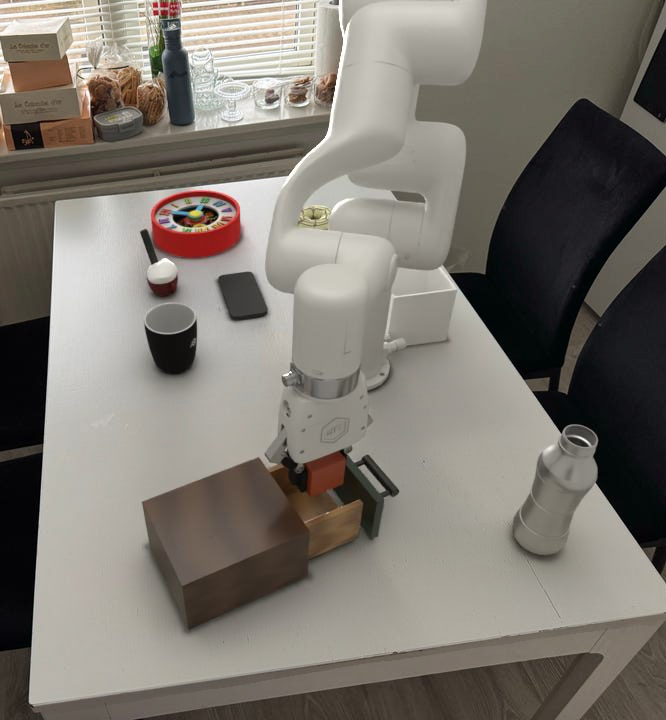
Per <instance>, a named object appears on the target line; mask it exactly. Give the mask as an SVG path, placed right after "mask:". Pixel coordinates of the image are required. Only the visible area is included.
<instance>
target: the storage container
mask: <svg viewBox="0 0 666 720" xmlns="http://www.w3.org/2000/svg"><path fill="white" fill-rule="evenodd" d="M418 245H419V244H418ZM417 251H418V250H417ZM416 257H417V256H416ZM415 263H416V262H415ZM457 293H458V288H457V287H456V286H455V284H454V283H453V282H452V280H451V279H450V278H449V276H448V275H447V274H446V272H445V271H444V269H443V268H442V266H441V267H439V268H437V269H435V270H415V268H414V269H405V268H397V273H396V277H395V280H394V283H393V285H392V291H391V298H390V305H389V312H388V319H387V326H386V332H385V334H389V335H390V341H388V342H387V343H390V342H392V341H394V340H397V339H399V338H403V339H404V340H405V342H406V347H408V346H416V345H422V344H430V343H437V342H444V341H447V337H448V334H449V330H450V324H451V319H452V317H453V312H454V307H455V301H456V298H457Z"/></svg>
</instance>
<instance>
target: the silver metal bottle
mask: <svg viewBox="0 0 666 720" xmlns="http://www.w3.org/2000/svg"><path fill="white" fill-rule="evenodd" d="M598 442H599V438H598V436H597V434H596V433H595V432H594V431H593V430H592V429H590V428H589V427H587V426H584V425H581V424H569V425H567V426H565V427H564V428H563V430H562V433H561V435H560V436H559V438H558V440H557V442H555V443H552V444H550V445H548V446H547V447H545V448H544V449H543V450H542V451H541V452H540V453H539V455H538V457H537V461H536V467H535V473H534V479H533V482H532V485H531V488H530V492H529V494H528V495H527V497H526V499H525V501H524V502H523V504H522V505H520V507H519V508H518V510H517V511H516V513H515V514H514V516H513V519H512V533H513V536H514V538H515V539H516V541H517V542H518V544H519V545H520V546H521V547H522V548H523V549H524V550H526V551H528V552H530V553H532V554H535V555H539V556H550V555H553V554H557V553H558V552H559V551H561V549H562V548H563V547H564V546H565V545H566V544H567V543H568V539H569V536H570V535H569V534H570V528H571V524H572V520H573V517H574V515H575V512H576V510H577V509H578V507H579V505H580V504H581V502H582V501H583V499H584V498H585V496H586V495H587V494H588V493H589V491H591V489H592V488H593V487H594V485H595V484H596V482H597V480H598V470H599V469H598V464H597V463H596V460H595V457H594V455H595V453H596V449H597V446H598V444H599V443H598Z"/></svg>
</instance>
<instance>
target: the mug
mask: <svg viewBox="0 0 666 720" xmlns="http://www.w3.org/2000/svg"><path fill="white" fill-rule="evenodd" d="M197 318H198V317H197V313H196V311H195V310H194V309H193V308H192V307H191V306H189V305H187V304H184V303H180V302H164V303H160V304H158V305H155V306H153V307H152V308H150V309H149V310H148V311H147V312H146V313H145V314H144V318H143V327H144V331H145V338H146V341H147V344H148V348H149V352H150V355H151V358H152V360H153V362H154V364H155V366H156V367H157V368H158V369H159V370H160V371H161V372H163V373H165V374H169V375H179V374H182V373H185V372H186V371H188V370H190V368H191V367H192V366H193V364H194V362H195V358H196V354H197V345H198V319H197Z"/></svg>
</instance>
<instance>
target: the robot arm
mask: <svg viewBox="0 0 666 720" xmlns="http://www.w3.org/2000/svg"><path fill="white" fill-rule="evenodd" d="M487 5H488V0H339V4H338V14H339V23H340V29H341V33H342V38H343V44H342V51H341V56H340V62H339V68H338V73H337V79H336V85H335V89H334V90H335V91H334V95H333V101H332V106H331V112H330V116H329V117H330V118H329V126H328V130H327V133H326V136H325V138H324V139H323V140H322V141H321V142H320V143H319V144H318V145H316V147H314V148H313V149H312V150H311V151H309V152H308V153H307V154H306V155H305V156H304V157H303V158H302V159H301V160H300V161H299V162H298V163H297V164H296V166H295V167H294V169H292V171H291V172H290V173H289V175H288V176H287V178H286V180H285V181H284V182H283V185H282V187H281V188H280V190H279V192H278V195H277V197H276V201H275V204H274V209H273V211H272V212H273V213H272V218H271V219H272V220H271V223H270V230H269V234H268V238H267V239H268V240H267V245H266V251H265V262H264V269H265V271H264V272H265V277H266V279H267V282H268V284H269V285H270V286H271V287H272V288H273V289H275V290H276V291H278V292H281V293H286V294H290V295H293V313H292V340H291V341H292V343H291V361H290V363H289V364H290V365H289V371H288V372H287V373H286V374H283V375H281V382H282V384H283V386H284V387H283V392H282V394H281V399H280V404H279V410H278V417H277V436H276V437H275V439H274V440H272V442H271V444H270V445H269V446H268V447H267V449H266V450H265V452H264V456H265V458H266V459H267V460H268V463H271V464H275V465H277V464H282V465H283V466H284V467H287V468H288V478H289V480H290V482H291V483H292V485H293V486H294V485H296V486H297V487H298V489H299V490H300V492H301V493H303V492H305V491H306V490H307V475H308V472H307V470H306V468H305V465H306V462H310V461H313V460H315V459H318V458H321V457H323V456H326V455H329V454H331V453H334V452H336V451H340V453H341V454H342V455H343V456H344V458H345V459H346V461H347V455H349V454H351V453H352V452H353V449H354V448H353V447H354V446H353V445H355V444H357V443H359V442H361V441H362V440H363V439H364V438H365V436H366V433H367V429H368V428H369V427H370V426H371V425H372V424H373V422H374V419H373V418H372V416H370V415H369V393H368V391H371V390H374V389H376V388H378V387H380V386H381V385H383V384H384V383H385V381H386V380H387V379H388V377H389V374H390V369H391V364H390V360H389V358H388V357H390V356H391V355H392V353H395V352H398V351H402V350H404V349H406V348H407V346H406V342H405V340H404V339H403V338H399V339H397V340H394V341H392V342H390V343H387V342H388V341H390V335H389V334H386V327H387V320H388V314H389V305H390V298H391V291H392V285H393V283H394V280H395V277H396V273H397V268H405V269H414V268H415V270H435V269H437V268H439V267H441V268H442V266H443V265H444V264H445V262H446V260H447V258H448V255H449V253H450V250H451V245H452V240H453V235H454V230H455V224H456V218H457V214H458V207H459V200H460V196H461V189H462V184H463V179H464V173H465V168H466V167H465V166H466V160H467V141H466V136H465V133H464V131H463V130H462V129H461V128H460V127H459V126H457V125H455V124H452V123H447V122H442V121H441V122H439V121H423V120H422V121H421V120H417V119H416V110H417V104H418V97H419V91H420V86H421V85H427V86H444V87H445V86H449V87H454V86H460V85H462V84H464V83H465V82H466V81H467V80H468V79H469V78H470V77H471V75H472V74H473V72H474V69H475V67H476V65H477V62H478V60H479V56H480V52H481V47H482V43H483V38H484V30H485V20H486V13H487V7H488V6H487ZM346 175H347V178H348V179H349V181H350V182H351V183H352V184H353V185H355V186H357V187H360V188H366V189H372V190H379V191H380V190H382V191H392V192H403V193H412V194H419V195H421V196H422V197H423V198H424V200H425V202H417V201H408V200H407V201H406V200H396V199H390V198H379V197H368V196H367V197H366V196H365V197H364V196H361V197H360V196H357V197H350V198H345V199H343V200H341V201H339V202H338V203H337V204H336V205H335V206H334V207H333V208H332V209H333V210H332V212H331V214H330V217H329V221H328V230H321V229H311V228H301V227H297V226H298V221H299V217H300V214H301V211H302V208H304V207H305V205H306V203H307V201H308V200H309V198H310V197H311V196H312V195H313V194H314V193H315V192H317V191H318V190H319V189H320V188H322V187H323V186H325V185H327V184H328V183H330V182H333V181H334V180H336V179H339V178H341V177H343V176H346ZM418 244H419V245H418ZM417 250H418V251H417ZM416 256H417V257H416ZM415 262H416V263H415ZM345 466H346V463H345ZM344 474H345V471H344Z"/></svg>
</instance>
